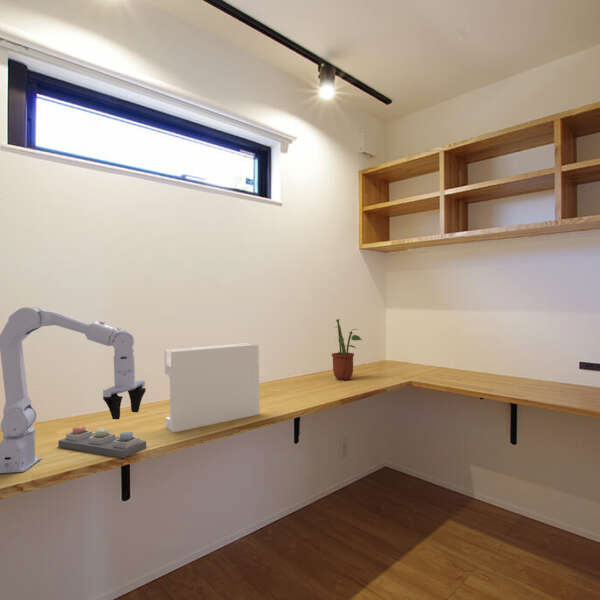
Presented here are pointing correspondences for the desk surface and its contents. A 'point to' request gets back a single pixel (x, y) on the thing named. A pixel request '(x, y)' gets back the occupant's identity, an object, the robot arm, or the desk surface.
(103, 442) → the button panel
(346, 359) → the potted plant
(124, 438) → the slate button
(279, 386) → the desk surface
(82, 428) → the terracotta button
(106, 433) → the sage button
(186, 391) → the block
